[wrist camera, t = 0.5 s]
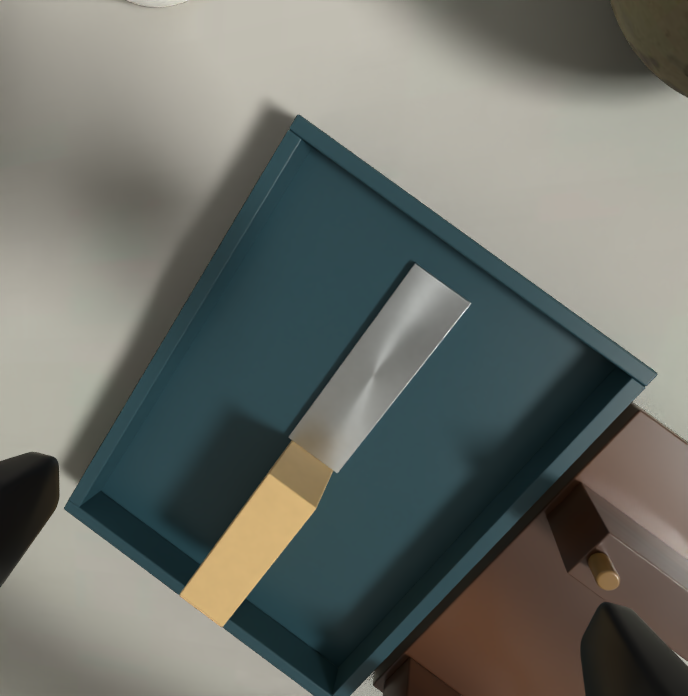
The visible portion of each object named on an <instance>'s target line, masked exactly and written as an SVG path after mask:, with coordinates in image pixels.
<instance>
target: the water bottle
mask: <svg viewBox="0 0 688 696" xmlns="http://www.w3.org/2000/svg"><path fill="white" fill-rule="evenodd" d="M126 1H129V2H132V3H134V4H138V5H141V6H148V7H168V6H174V5H177V4H181V3H184V2H186V1H189V0H126Z"/></svg>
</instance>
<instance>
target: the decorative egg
mask: <svg viewBox="0 0 688 696" xmlns="http://www.w3.org/2000/svg"><path fill="white" fill-rule="evenodd" d="M610 3H611V6H612V9H613V12H614V15H615V17H616V19H617V22H618V24H619V26H620V28H621V30H622V32H623V34H624V36H625V38H626V39H627V41H628V42H629V44H630V46H631V47H632V49H633V50H634V52H635V53H636V54H637V55H638V57H639V58H640V59H641V60H642V62H643V63H644V64H645V65H646V66H647V67H648V68H649V69H650V70H651V71H652V72H653V73H654V74H655V75H656V76H657V77H658V78H659V79H661V80H662V81H663V82H664V83H666V84H667V85H668V86H670V87H671V88H673V89H674V90H676V91H677V92H679V93H681V94H682V95H684V96H686V97H688V0H610Z"/></svg>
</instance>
